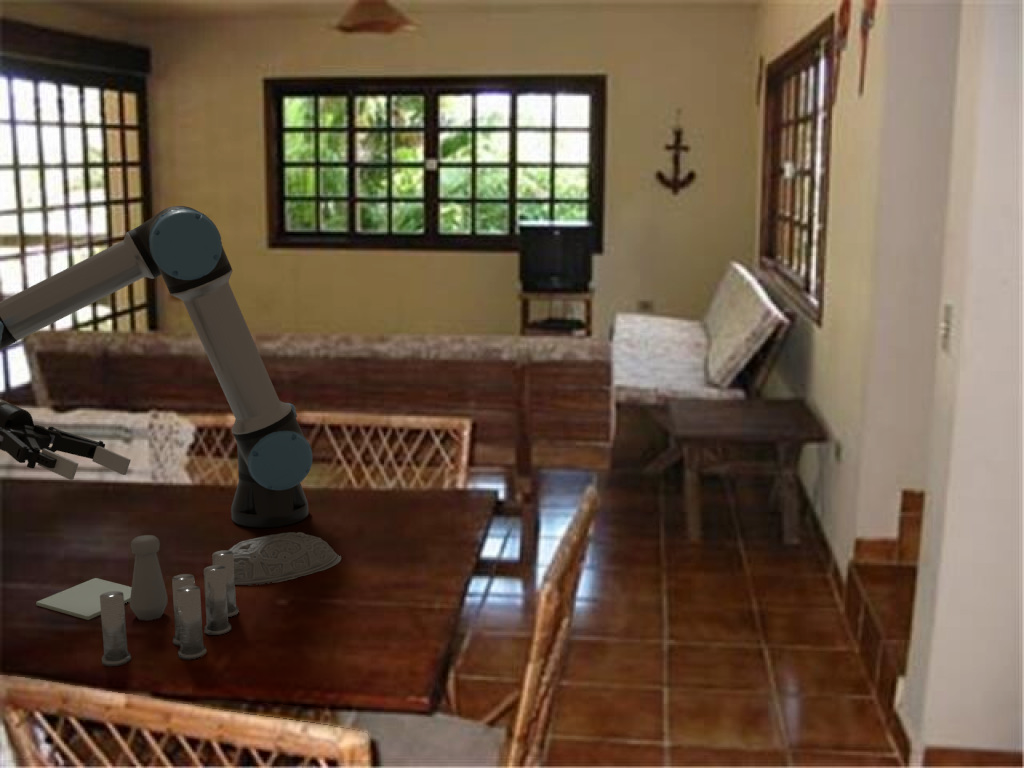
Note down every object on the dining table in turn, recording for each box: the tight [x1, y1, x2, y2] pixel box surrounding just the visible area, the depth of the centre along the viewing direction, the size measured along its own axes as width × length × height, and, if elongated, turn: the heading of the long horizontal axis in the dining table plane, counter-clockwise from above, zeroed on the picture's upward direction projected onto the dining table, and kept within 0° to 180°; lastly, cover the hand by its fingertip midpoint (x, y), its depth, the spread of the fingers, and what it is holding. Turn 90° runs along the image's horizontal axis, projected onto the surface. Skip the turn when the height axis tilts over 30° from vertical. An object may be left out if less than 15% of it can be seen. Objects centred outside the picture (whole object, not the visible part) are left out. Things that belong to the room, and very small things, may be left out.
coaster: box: [35, 577, 132, 621], centre depth 188 cm, size 12×12×1 cm
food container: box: [227, 531, 342, 586], centre depth 202 cm, size 16×25×7 cm, turn 122°
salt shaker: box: [129, 534, 168, 622], centre depth 180 cm, size 6×6×13 cm
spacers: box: [100, 549, 240, 667], centre depth 172 cm, size 21×17×10 cm
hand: (101, 469), depth 186 cm, fingers open, 13 cm apart
